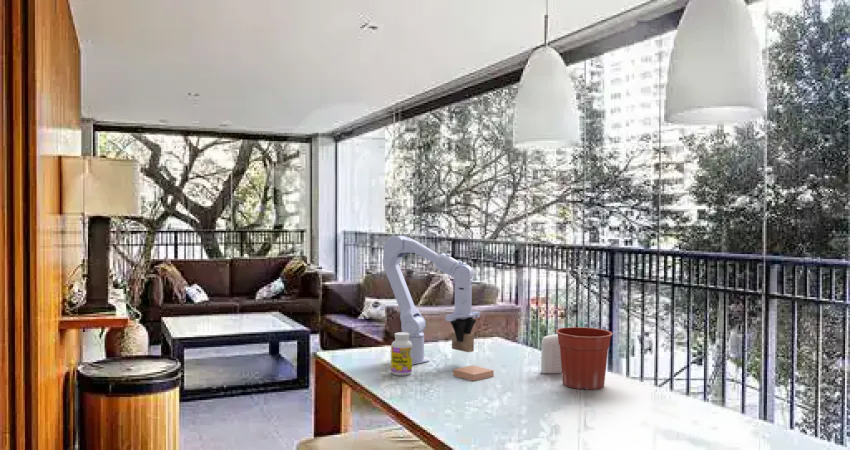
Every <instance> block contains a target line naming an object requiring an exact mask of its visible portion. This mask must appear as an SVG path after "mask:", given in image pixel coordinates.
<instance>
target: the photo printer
mask: <svg viewBox="0 0 850 450" xmlns="http://www.w3.org/2000/svg"><path fill="white" fill-rule="evenodd" d="M540 361H541V362H540V372H541V373H542V374H562V366H561V354H560V345H559V342H558V334H557V333H555V334H554V333H553V334H549V335H546V336H543V337H542V338H541V357H540Z"/></svg>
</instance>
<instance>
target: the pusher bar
mask: <svg viewBox="0 0 850 450" xmlns="http://www.w3.org/2000/svg"><path fill="white" fill-rule="evenodd" d="M474 337H475V335H474V334H471V333H470V334H467V333H463V341H462V342H460V341H457V338H456V334H455V331H451V350H456V351H462V352H465V353H472V352H474V348H475V343H474V342H475V341H474Z"/></svg>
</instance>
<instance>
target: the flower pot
mask: <svg viewBox="0 0 850 450" xmlns="http://www.w3.org/2000/svg"><path fill="white" fill-rule="evenodd" d="M555 334H558V342H559V345H560V354H561V366H562V373H561V377H562V380H561V381H562V384H563V385H564V386H566V387H567V388H570V389H577V390H582V389H586V390H589V391H592V390H601V389H602V388H605V381H606V371H607V364H608V363H607V362H608V353H609V348H610V345H611V337H612V336H613V332H612V331H609V330H606V329H602V328H594V327H582V326H579V327H578V326H574V327H573V326H570V327H560V328H557V329H556V330H555Z"/></svg>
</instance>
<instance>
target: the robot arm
mask: <svg viewBox="0 0 850 450" xmlns="http://www.w3.org/2000/svg"><path fill="white" fill-rule="evenodd" d="M407 253H414V254H416V255H418V256H420V257H422V258H424V259H426V260H428V261H430V262H432V263H434V266H435V267H434V268H436V269H437V270H439V271H441V272H443V273H445V274H446V275H447V276H450V277H453V280H454V285H455V286H454V312H453V313H450V314H446V315H445V322H450V323H449V324H451V326H452V328H453V332H455V334H456V338H457V341H460V342H462V341H463V333H467V334H471V332H472V331H473V327H474V326H475V324H476V319H475V318H481V312H480V311H472V310H473V308H472V301H473V300H472V299H473V298H472V297H473V296H472V294H473V293H472V291H473V290H472V289H473V288H472V278H473V276H474V269H473V268H472V266H470V265H469V264H467V263H463V261H461V260H457V259H455V258H453V257H452V256H451V254H450V253H444V252H443V253H440V254H438V253H437V252H435V251H434V250H432V249H430V248H428V247H427V246H425V245H424V244H423V243H421V242H419V241H417V240H415V239H413V238H411V237H408V236H407V235H392V236H389V237H388V238H387V240H386V241H385V243H384V245H383V258H382V266H383V268H384V271H385V274H386V277H387V279H388V282H389V285H390V286H391V289H392V292H393V294H394V298H395V300H396V303H397V305H398V308H399V311H400V314H399V320H400V322H401V323H400V324H401V326H400V327H401V328H400V330H401V332H406V333H409V341H410V342H411V343H412V365H417V364H422V363H427V362H430V360H429V359H426V358H425V333H424V330H425V329H426V328H427V321H426V319H425V318H424V316H423V315H421V313H420V310H419V309H418V308H417V306H415V303H414V300H413V298H412V296H411V293H410V290H409V288H408V285H407V283H406V279H405V276H404V275H403V272H402V269H401V267H400V262H401V261H402V260H403V257H404V256H405V255H406V254H407Z"/></svg>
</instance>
